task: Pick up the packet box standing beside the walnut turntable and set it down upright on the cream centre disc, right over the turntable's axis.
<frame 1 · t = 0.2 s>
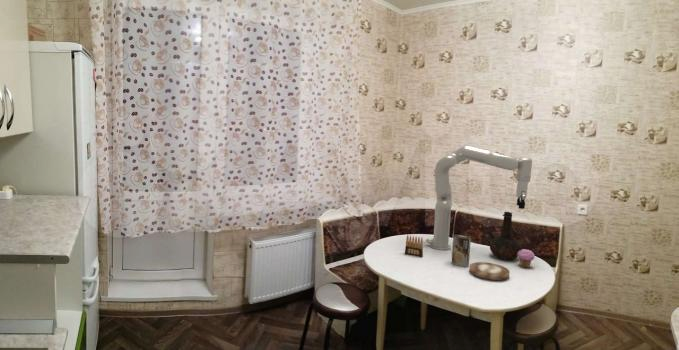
hand: (520, 206, 239), 31 cm above the table, tool pointing down, fingers open, 9 cm apart
cupcake: (524, 266, 228), on the table
ammunition clip: (413, 255, 240), on the table
dark brown vase: (504, 257, 242), on the table
coffee box: (460, 264, 228), on the table
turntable: (489, 270, 214), point 2 cm above the table, hinge at 0.0°
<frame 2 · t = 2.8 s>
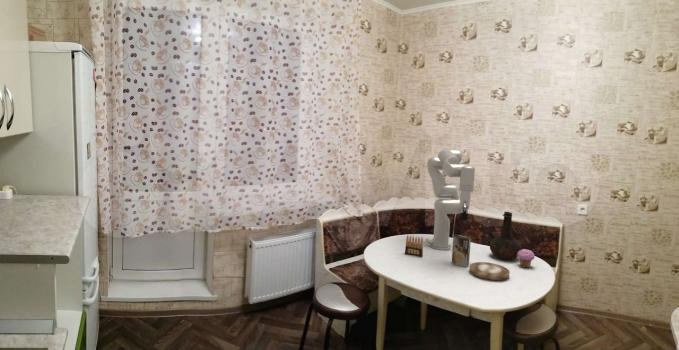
hand: (464, 218, 224), 27 cm above the table, tool pointing down, fingers open, 9 cm apart
nothing on the table moved.
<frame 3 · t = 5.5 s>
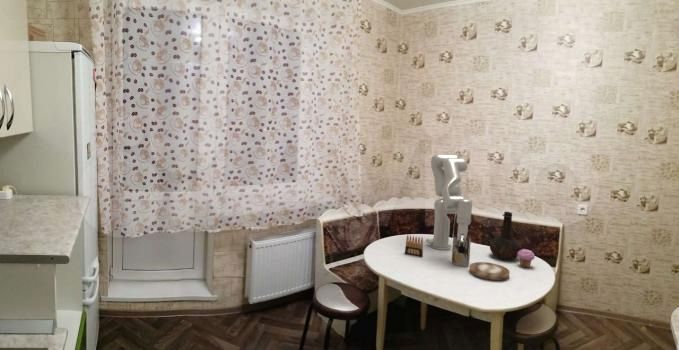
hand: (461, 250, 227), 8 cm above the table, tool pointing down, fingers closed on coffee box, 7 cm apart
coffee box: (460, 264, 228), on the table, touching gripper
everything else where it was.
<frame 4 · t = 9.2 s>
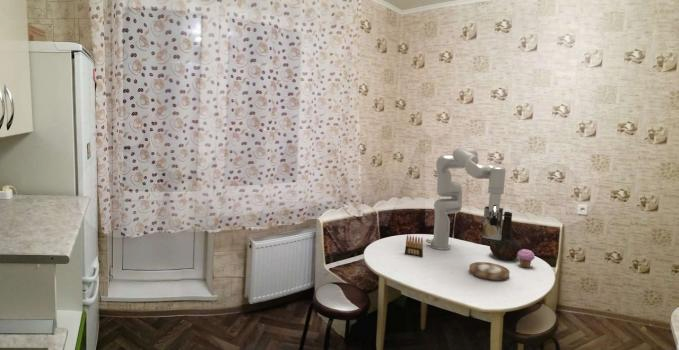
hand: (492, 223, 210), 28 cm above the table, tool pointing down, fingers closed on coffee box, 7 cm apart
coffee box: (491, 238, 212), point 20 cm above the table, touching gripper
everything else where it was.
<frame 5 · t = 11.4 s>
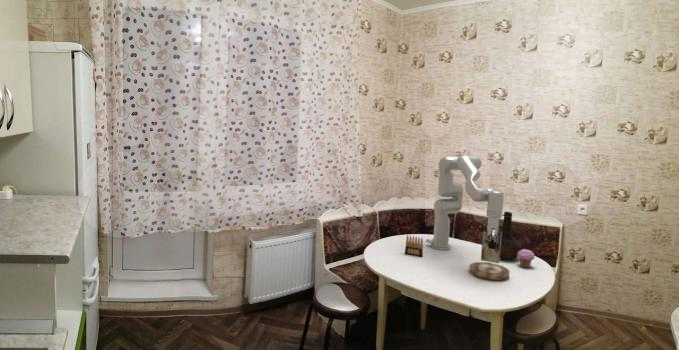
hand: (491, 246, 212), 15 cm above the table, tool pointing down, fingers closed on coffee box, 7 cm apart
coffee box: (490, 260, 213), point 7 cm above the table, touching gripper
everything else where it was.
when the fingers open (12 cm above the table, at t = 13.1 s): coffee box drops 1 cm, resting on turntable.
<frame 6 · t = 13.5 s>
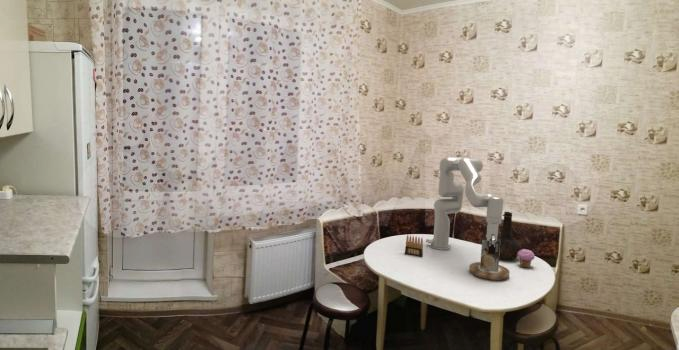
hand: (490, 250, 212), 13 cm above the table, tool pointing down, fingers open, 9 cm apart
coffee box: (489, 268, 214), point 3 cm above the table, touching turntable
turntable: (489, 270, 214), point 2 cm above the table, hinge at 0.0°, touching coffee box
everything else where it was.
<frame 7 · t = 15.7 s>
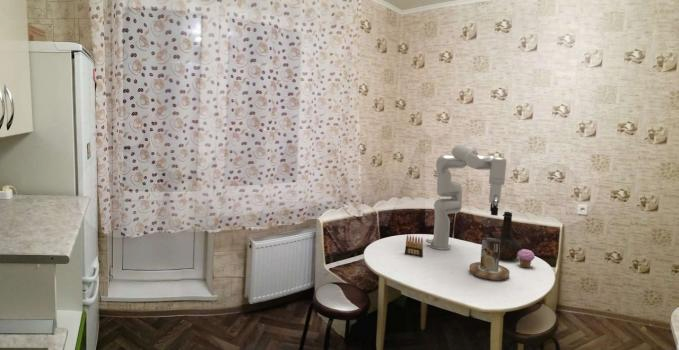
hand: (493, 213, 210), 33 cm above the table, tool pointing down, fingers open, 9 cm apart
nothing on the table moved.
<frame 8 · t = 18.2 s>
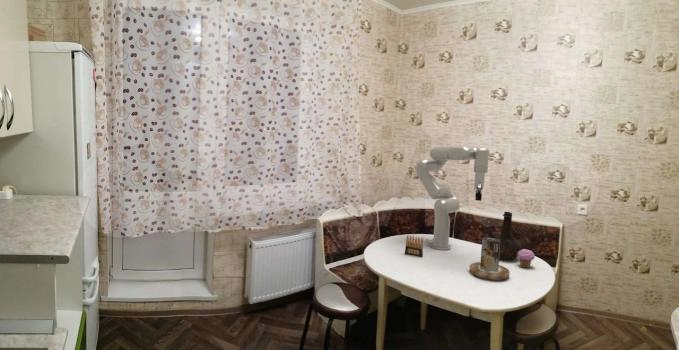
hand: (478, 198, 232), 36 cm above the table, tool pointing down, fingers open, 9 cm apart
nothing on the table moved.
at the end: coffee box 0.2 cm from the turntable (horizontally); coffee box tilted 0°; coffee box touching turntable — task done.
